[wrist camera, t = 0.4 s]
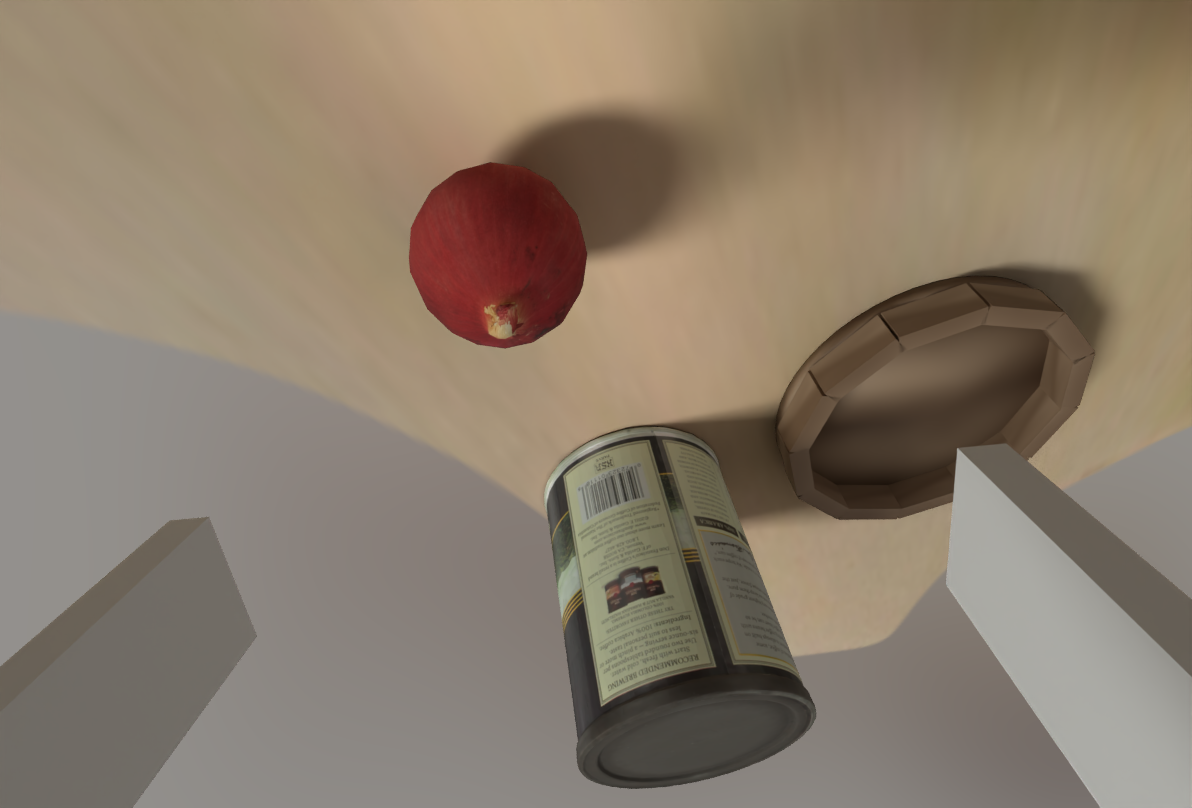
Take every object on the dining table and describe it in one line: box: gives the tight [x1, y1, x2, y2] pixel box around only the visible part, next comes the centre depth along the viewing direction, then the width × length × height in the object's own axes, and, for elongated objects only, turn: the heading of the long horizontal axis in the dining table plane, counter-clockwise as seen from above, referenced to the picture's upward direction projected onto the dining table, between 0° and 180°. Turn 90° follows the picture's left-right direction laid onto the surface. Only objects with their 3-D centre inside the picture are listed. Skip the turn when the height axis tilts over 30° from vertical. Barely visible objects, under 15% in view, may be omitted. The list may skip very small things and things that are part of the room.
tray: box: [775, 276, 1095, 520], centre depth 35 cm, size 15×15×3 cm
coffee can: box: [544, 427, 816, 789], centre depth 33 cm, size 10×10×14 cm
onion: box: [409, 162, 587, 348], centre depth 22 cm, size 6×6×8 cm
